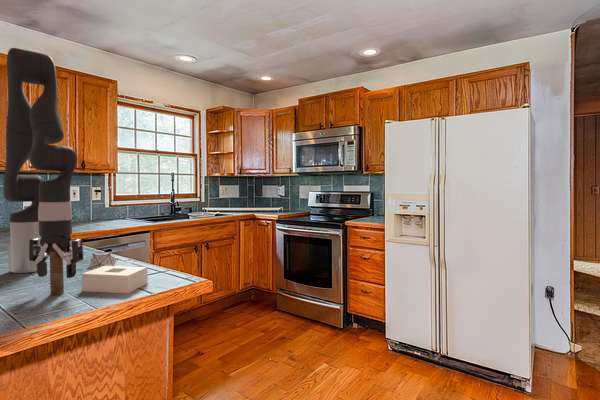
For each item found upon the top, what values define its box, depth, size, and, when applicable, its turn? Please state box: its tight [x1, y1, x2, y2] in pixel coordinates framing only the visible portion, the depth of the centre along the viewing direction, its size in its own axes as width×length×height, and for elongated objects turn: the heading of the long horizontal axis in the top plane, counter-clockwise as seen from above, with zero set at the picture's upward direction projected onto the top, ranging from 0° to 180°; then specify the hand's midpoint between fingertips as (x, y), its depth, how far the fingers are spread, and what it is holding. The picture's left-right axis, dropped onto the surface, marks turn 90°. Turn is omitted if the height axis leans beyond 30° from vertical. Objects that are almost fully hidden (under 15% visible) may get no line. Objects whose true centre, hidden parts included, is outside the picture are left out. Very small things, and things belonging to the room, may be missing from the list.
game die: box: [86, 250, 119, 271], centre depth 114 cm, size 9×8×10 cm
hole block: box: [81, 265, 149, 294], centre depth 102 cm, size 14×10×5 cm
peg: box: [49, 252, 65, 297], centre depth 95 cm, size 3×3×12 cm
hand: (56, 276), depth 95 cm, fingers open, 8 cm apart
